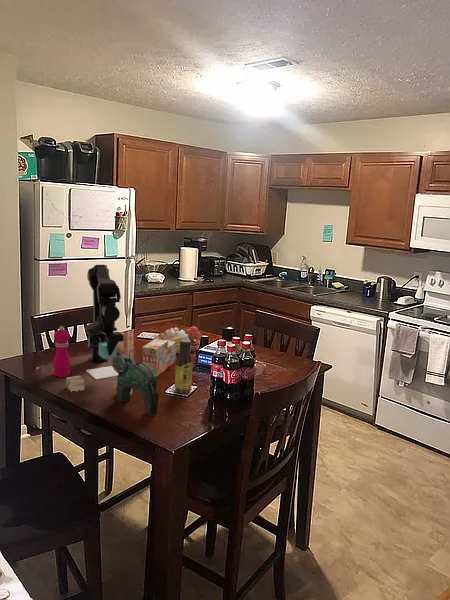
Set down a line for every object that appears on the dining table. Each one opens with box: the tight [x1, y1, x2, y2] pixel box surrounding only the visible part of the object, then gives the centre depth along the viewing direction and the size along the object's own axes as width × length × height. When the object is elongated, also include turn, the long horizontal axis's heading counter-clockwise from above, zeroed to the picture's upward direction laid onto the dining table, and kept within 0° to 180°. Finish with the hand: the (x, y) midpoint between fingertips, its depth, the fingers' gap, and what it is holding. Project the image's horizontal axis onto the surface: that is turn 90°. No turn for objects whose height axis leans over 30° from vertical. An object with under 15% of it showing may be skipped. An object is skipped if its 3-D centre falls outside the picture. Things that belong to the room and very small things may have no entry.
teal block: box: [99, 342, 117, 359], centre depth 197 cm, size 5×5×5 cm
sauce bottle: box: [174, 339, 194, 394], centre depth 189 cm, size 6×6×20 cm
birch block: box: [66, 375, 85, 393], centre depth 188 cm, size 5×5×4 cm
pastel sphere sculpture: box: [153, 326, 202, 354], centre depth 244 cm, size 25×24×9 cm
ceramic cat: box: [112, 349, 160, 416], centre depth 174 cm, size 20×6×20 cm, turn 51°
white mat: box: [85, 365, 118, 381], centre depth 205 cm, size 11×11×1 cm
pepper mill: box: [52, 325, 72, 378], centre depth 199 cm, size 7×7×20 cm
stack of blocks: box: [141, 338, 177, 378], centre depth 213 cm, size 21×6×12 cm, turn 163°
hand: (107, 353), depth 197 cm, fingers closed on teal block, 5 cm apart
